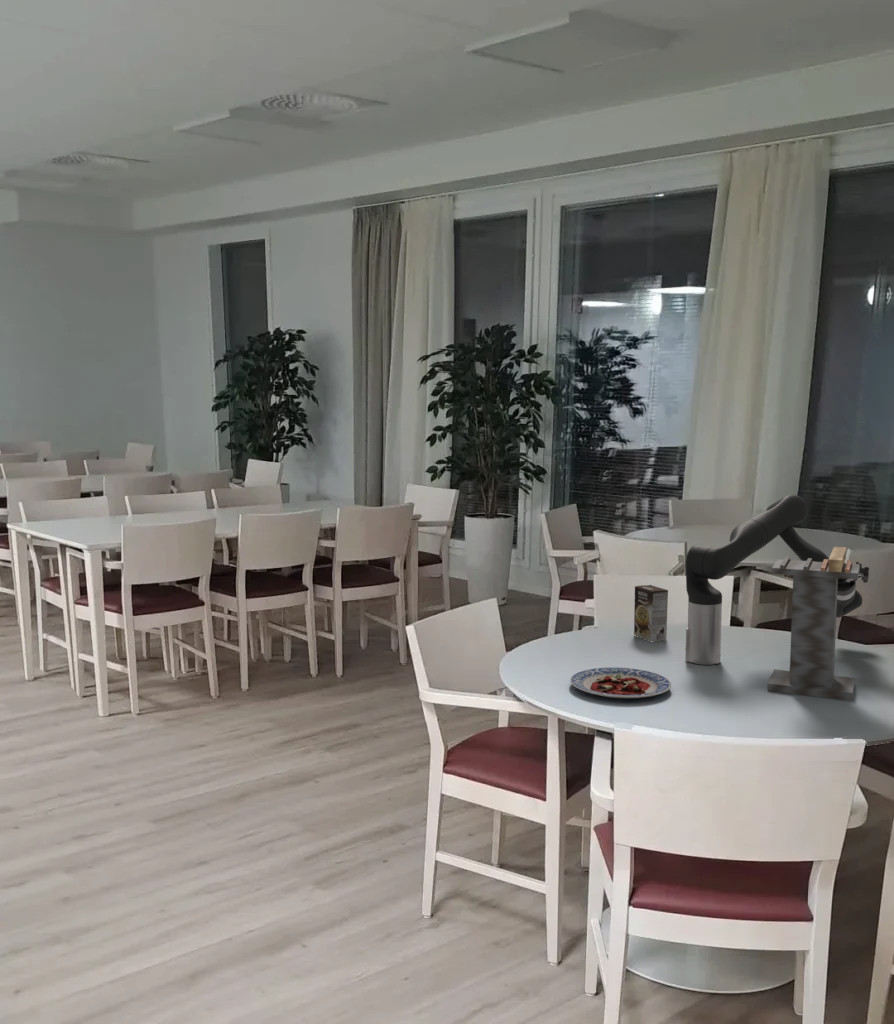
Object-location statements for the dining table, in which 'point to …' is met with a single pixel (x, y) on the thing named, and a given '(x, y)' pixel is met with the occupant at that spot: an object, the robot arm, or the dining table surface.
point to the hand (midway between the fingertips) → (840, 564)
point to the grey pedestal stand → (813, 631)
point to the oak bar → (837, 559)
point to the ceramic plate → (620, 682)
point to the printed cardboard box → (650, 612)
